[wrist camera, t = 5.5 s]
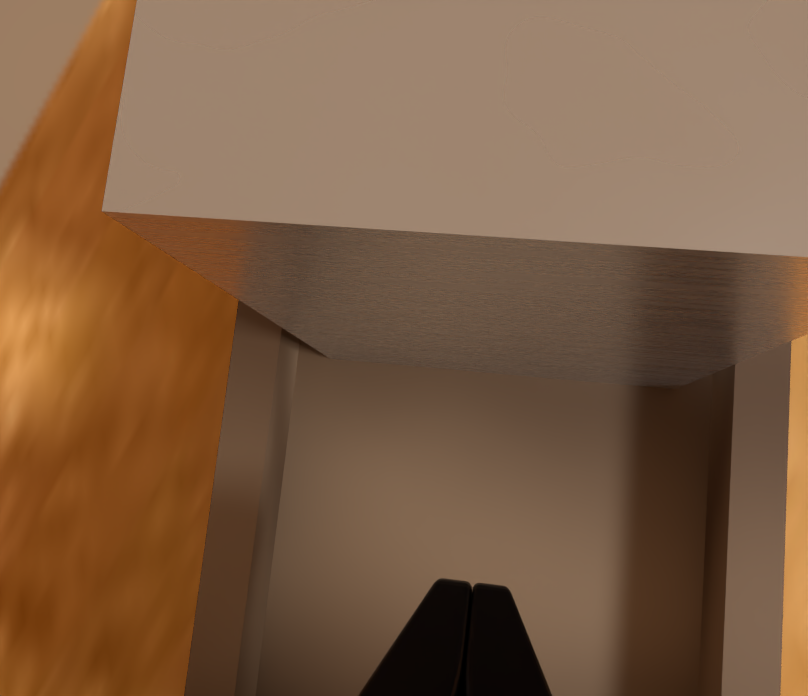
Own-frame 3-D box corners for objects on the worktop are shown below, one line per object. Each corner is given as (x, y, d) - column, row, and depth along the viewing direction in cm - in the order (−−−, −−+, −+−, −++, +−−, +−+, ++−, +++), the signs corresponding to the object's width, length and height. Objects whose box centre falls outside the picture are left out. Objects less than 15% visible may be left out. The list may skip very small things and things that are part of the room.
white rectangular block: (674, 389, 13) (968, 267, 5) (330, 359, 13) (102, 211, 6) (692, 60, 14) (965, -498, 6) (366, 49, 14) (212, -454, 6)
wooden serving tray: (716, 818, 13) (773, 909, 10) (230, 740, 14) (169, 804, 11) (768, -438, 17) (820, -609, 14) (379, -418, 18) (359, -572, 15)
